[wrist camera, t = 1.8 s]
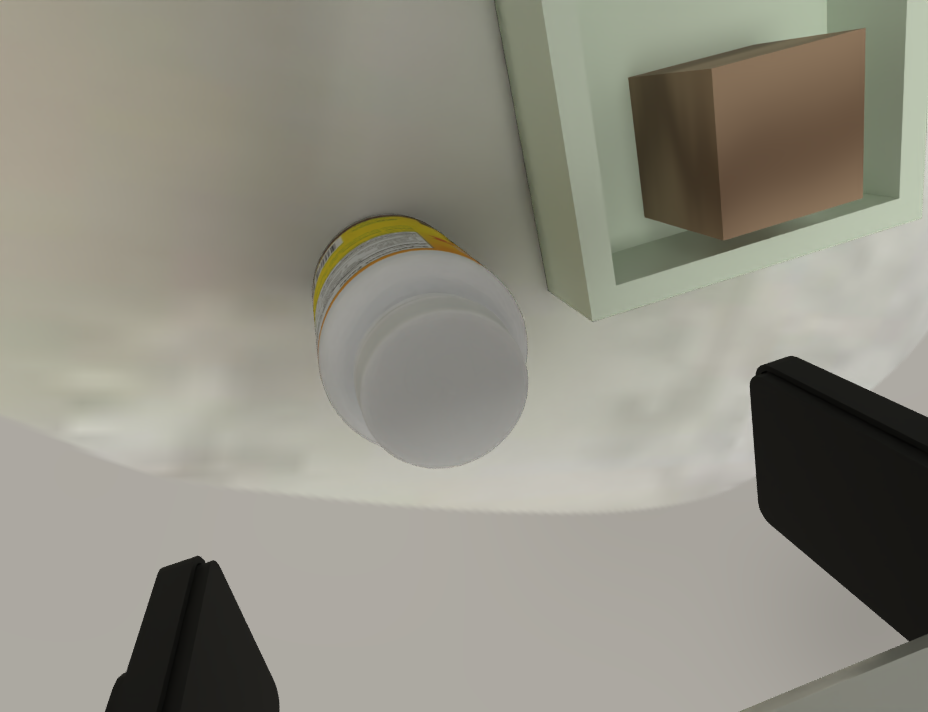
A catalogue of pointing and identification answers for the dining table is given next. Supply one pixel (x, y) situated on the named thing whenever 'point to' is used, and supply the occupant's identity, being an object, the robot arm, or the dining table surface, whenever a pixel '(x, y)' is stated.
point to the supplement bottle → (418, 342)
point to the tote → (614, 147)
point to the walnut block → (752, 134)
